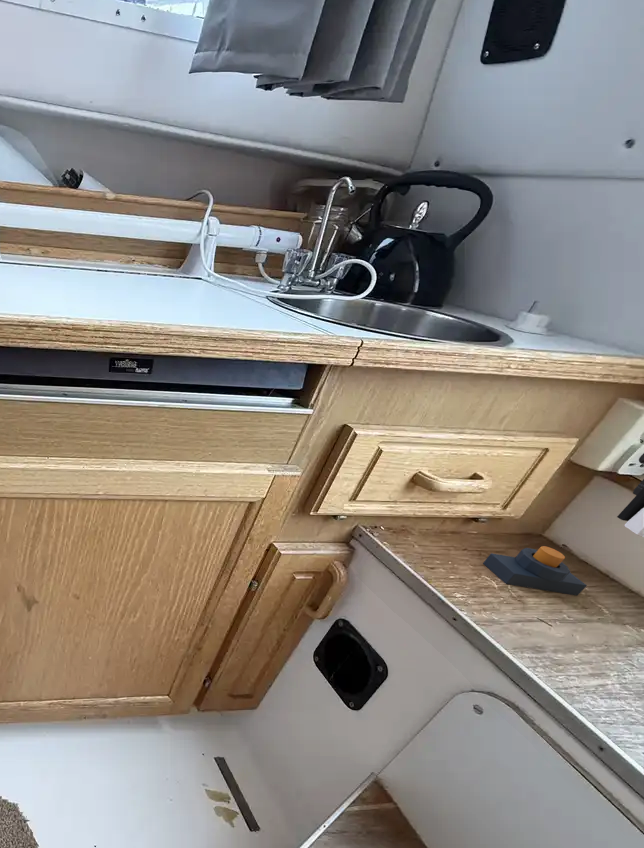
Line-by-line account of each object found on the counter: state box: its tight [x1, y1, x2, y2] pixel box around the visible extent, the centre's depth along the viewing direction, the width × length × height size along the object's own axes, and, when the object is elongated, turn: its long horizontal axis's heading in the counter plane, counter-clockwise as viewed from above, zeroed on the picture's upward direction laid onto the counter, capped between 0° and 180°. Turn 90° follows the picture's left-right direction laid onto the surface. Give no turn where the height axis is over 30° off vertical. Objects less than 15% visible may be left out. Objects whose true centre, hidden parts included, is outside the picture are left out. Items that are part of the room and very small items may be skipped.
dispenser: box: [482, 547, 588, 596], centre depth 87 cm, size 12×6×4 cm, turn 88°
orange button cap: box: [533, 545, 566, 568], centre depth 85 cm, size 3×3×2 cm
